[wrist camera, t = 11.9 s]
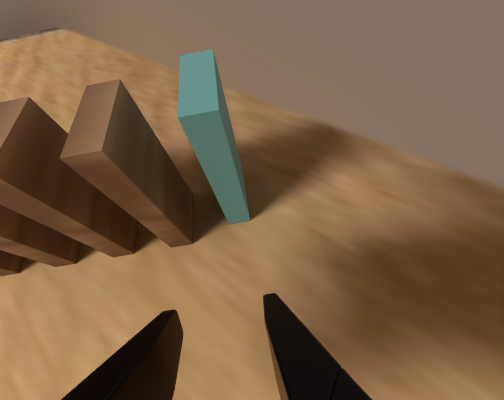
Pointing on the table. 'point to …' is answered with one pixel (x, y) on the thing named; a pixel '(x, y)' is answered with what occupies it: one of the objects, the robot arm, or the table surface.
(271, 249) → the table surface
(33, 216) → the domino
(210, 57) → the domino
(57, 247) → the domino
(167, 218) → the domino
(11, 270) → the domino
